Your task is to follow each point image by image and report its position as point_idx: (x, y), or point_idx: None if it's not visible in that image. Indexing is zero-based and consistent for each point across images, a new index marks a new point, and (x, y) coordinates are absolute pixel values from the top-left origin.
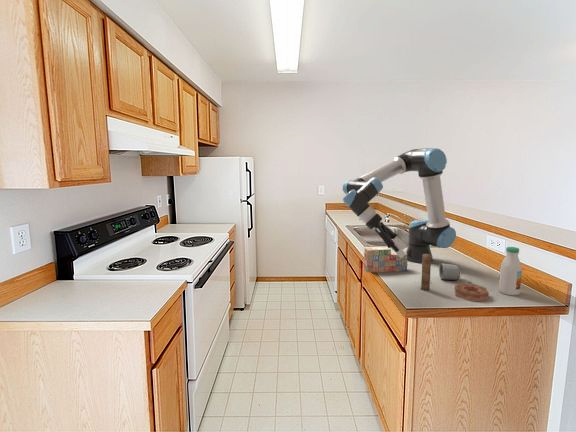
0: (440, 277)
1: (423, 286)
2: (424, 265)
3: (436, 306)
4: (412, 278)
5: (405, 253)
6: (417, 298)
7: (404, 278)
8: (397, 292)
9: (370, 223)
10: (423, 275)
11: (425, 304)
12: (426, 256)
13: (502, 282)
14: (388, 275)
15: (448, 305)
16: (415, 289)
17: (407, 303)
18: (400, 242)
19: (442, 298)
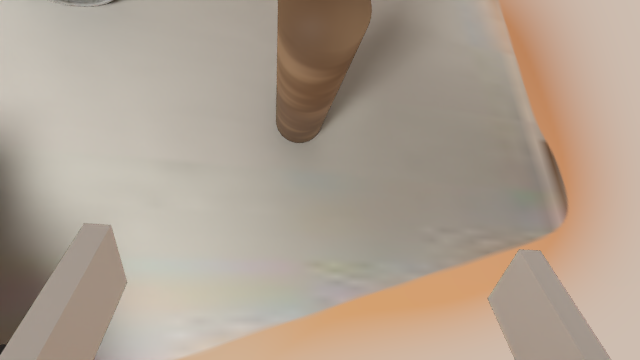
0: (73, 2)
1: (320, 127)
2: (344, 76)
3: (515, 100)
4: (112, 175)
5: (525, 256)
6: (443, 175)
7: (121, 227)
8: (386, 275)
9: None
10: (327, 109)
11: (506, 145)
12: (368, 20)
13: None
14: None
15: (488, 46)
16: (314, 174)
17: (519, 228)
18: (59, 341)
19: (411, 56)
